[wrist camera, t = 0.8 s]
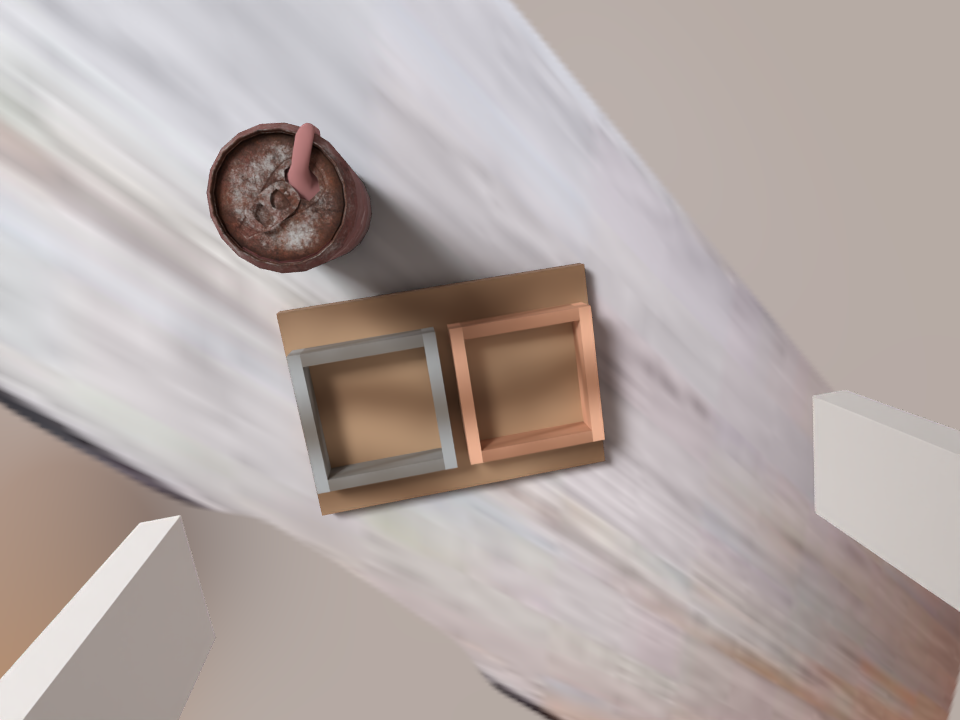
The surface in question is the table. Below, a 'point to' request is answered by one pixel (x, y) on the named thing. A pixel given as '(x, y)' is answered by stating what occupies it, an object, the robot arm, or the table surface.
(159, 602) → the robot arm
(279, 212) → the can
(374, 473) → the board
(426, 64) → the table surface
